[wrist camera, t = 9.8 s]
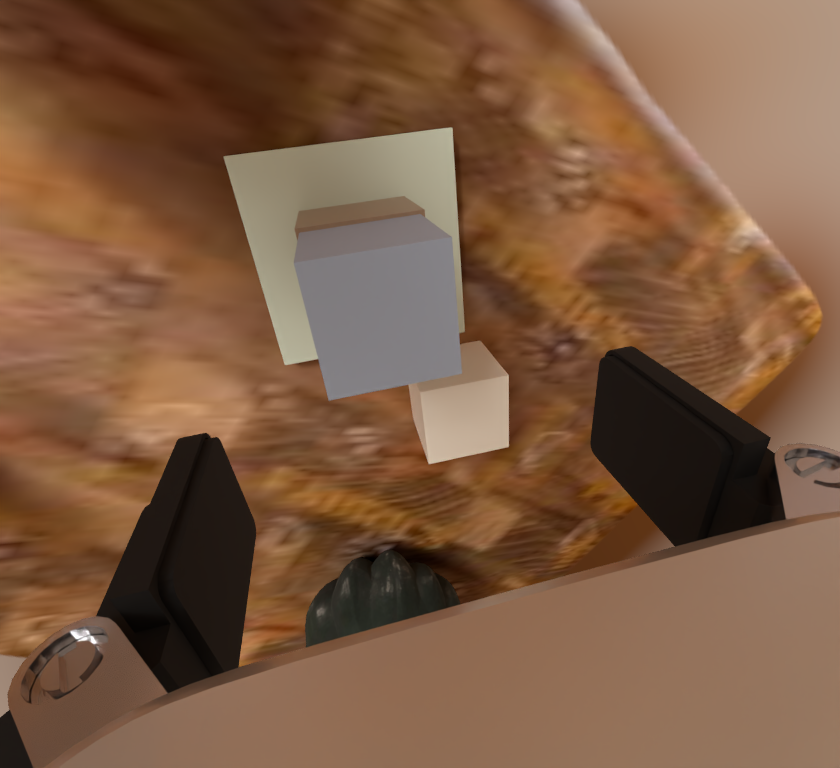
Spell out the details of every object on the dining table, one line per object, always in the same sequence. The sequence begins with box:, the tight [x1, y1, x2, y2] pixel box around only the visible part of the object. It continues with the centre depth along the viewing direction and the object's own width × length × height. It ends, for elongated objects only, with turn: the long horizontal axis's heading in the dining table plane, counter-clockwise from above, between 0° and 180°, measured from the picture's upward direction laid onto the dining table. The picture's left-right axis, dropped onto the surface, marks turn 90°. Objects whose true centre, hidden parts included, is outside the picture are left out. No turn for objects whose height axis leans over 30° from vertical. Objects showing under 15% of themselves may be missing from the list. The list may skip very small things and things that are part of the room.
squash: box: [305, 550, 460, 647], centre depth 40 cm, size 14×15×15 cm
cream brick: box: [409, 341, 509, 464], centre depth 33 cm, size 6×6×6 cm
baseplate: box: [223, 127, 465, 365], centre depth 26 cm, size 13×13×7 cm
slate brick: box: [294, 214, 462, 400], centre depth 21 cm, size 6×6×6 cm
